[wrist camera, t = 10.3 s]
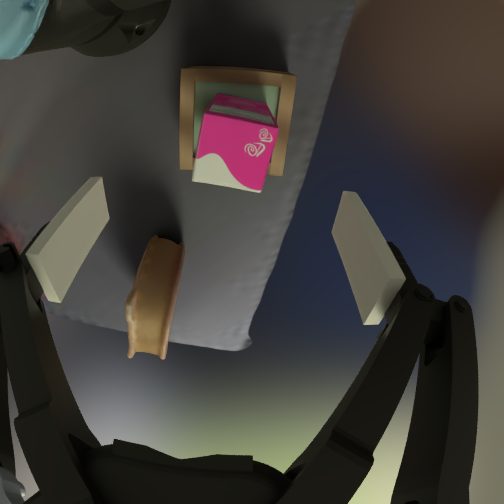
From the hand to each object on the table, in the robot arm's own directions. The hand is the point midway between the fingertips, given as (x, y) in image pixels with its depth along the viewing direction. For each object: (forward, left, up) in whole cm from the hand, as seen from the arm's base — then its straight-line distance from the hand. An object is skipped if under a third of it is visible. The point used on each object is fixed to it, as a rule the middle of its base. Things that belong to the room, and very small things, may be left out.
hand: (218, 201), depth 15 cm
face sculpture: (+28, -11, -25) cm, 39 cm away
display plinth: (0, 0, -25) cm, 25 cm away
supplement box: (0, 0, -19) cm, 19 cm away
